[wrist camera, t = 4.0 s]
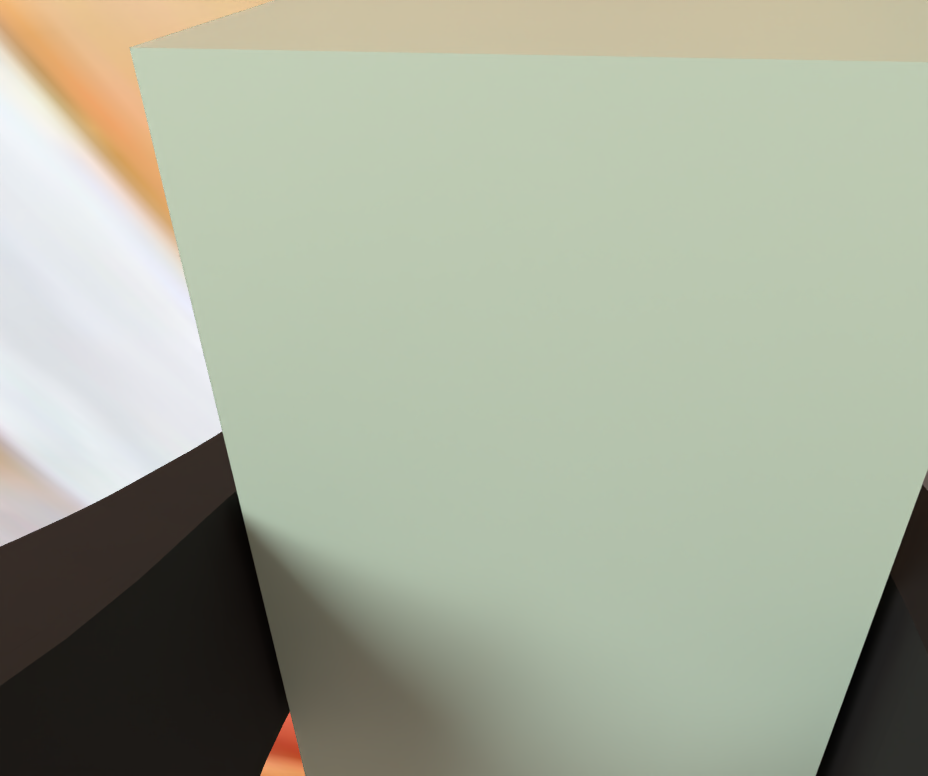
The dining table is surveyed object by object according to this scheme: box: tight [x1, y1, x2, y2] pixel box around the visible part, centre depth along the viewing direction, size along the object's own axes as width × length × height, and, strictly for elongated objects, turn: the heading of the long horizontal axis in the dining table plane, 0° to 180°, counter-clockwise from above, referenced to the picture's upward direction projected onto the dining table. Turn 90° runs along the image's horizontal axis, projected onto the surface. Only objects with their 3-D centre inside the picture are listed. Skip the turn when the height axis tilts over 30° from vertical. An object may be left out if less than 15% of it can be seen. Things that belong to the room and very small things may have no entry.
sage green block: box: [130, 0, 928, 776], centre depth 9 cm, size 10×5×5 cm, turn 2°
